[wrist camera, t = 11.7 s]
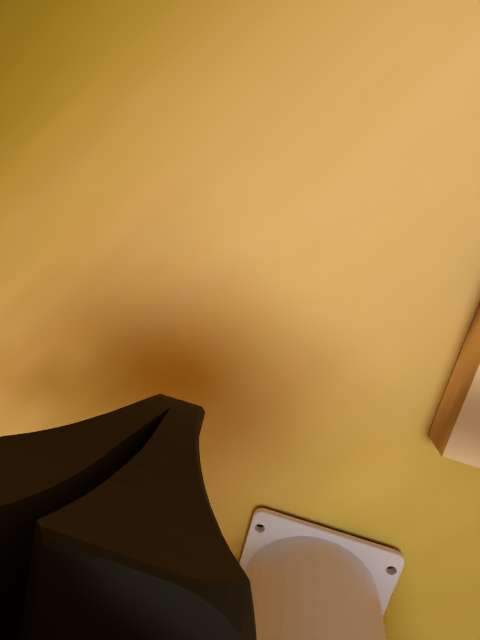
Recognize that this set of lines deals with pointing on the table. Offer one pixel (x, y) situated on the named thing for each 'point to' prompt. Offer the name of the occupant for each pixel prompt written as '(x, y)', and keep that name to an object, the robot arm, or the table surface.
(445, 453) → the board
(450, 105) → the table surface
